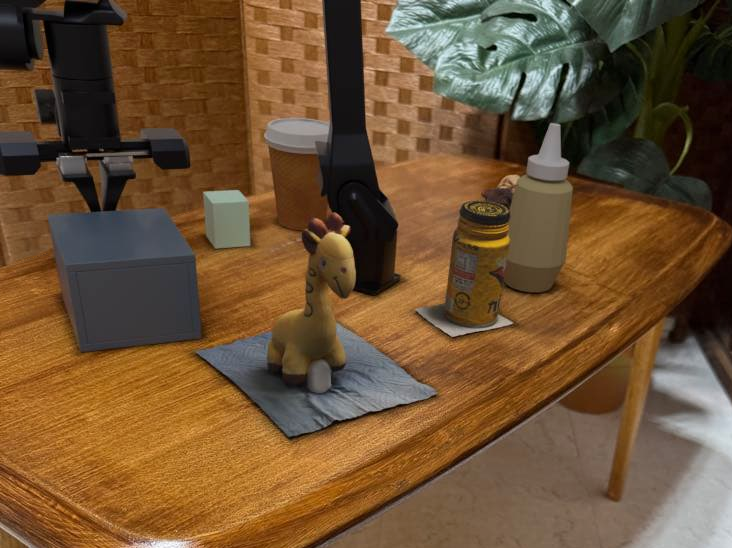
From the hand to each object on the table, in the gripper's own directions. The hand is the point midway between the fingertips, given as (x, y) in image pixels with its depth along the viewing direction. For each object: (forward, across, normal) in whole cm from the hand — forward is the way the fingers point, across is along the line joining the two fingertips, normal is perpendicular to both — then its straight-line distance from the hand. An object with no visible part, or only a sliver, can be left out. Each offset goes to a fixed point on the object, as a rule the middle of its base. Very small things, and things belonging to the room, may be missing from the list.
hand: (104, 234), depth 92 cm
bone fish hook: (+5, -60, -11) cm, 61 cm away
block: (+5, -16, -8) cm, 18 cm away
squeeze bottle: (+5, -47, +14) cm, 49 cm away
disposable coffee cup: (+5, -27, -13) cm, 30 cm away
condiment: (+5, -34, +21) cm, 40 cm away
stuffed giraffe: (+5, -14, +28) cm, 32 cm away
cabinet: (+5, 0, +11) cm, 12 cm away
